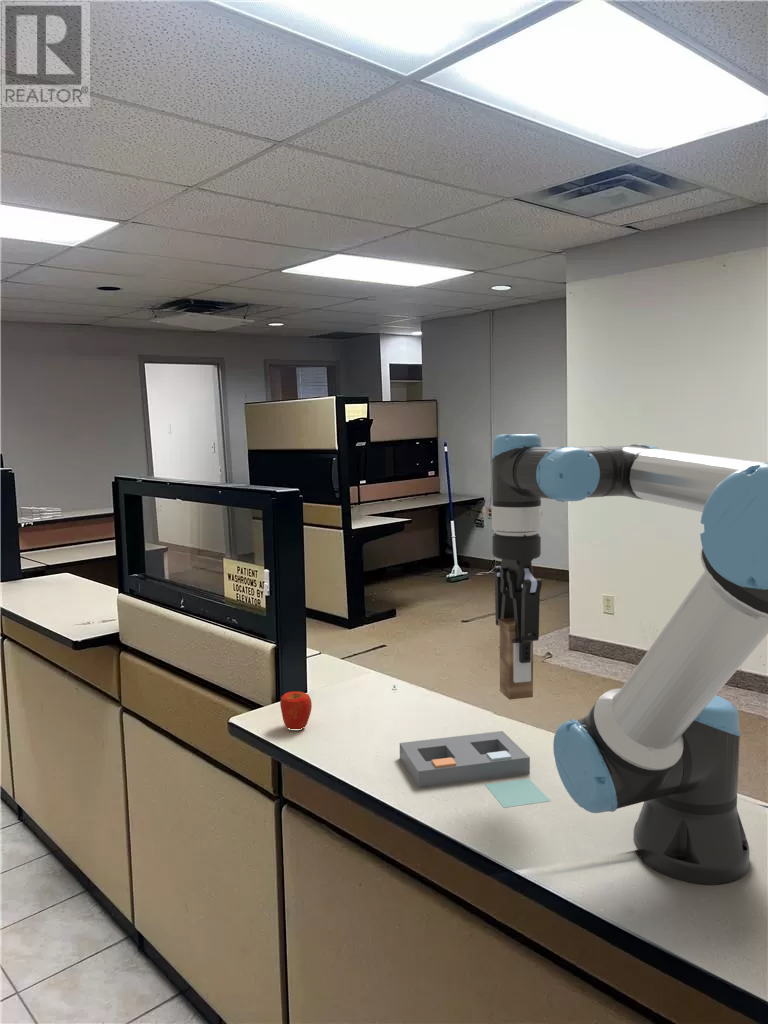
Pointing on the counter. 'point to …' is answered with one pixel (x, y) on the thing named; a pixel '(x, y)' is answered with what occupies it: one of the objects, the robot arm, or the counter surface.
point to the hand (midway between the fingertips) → (516, 676)
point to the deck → (517, 793)
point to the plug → (511, 663)
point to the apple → (295, 709)
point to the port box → (463, 759)
